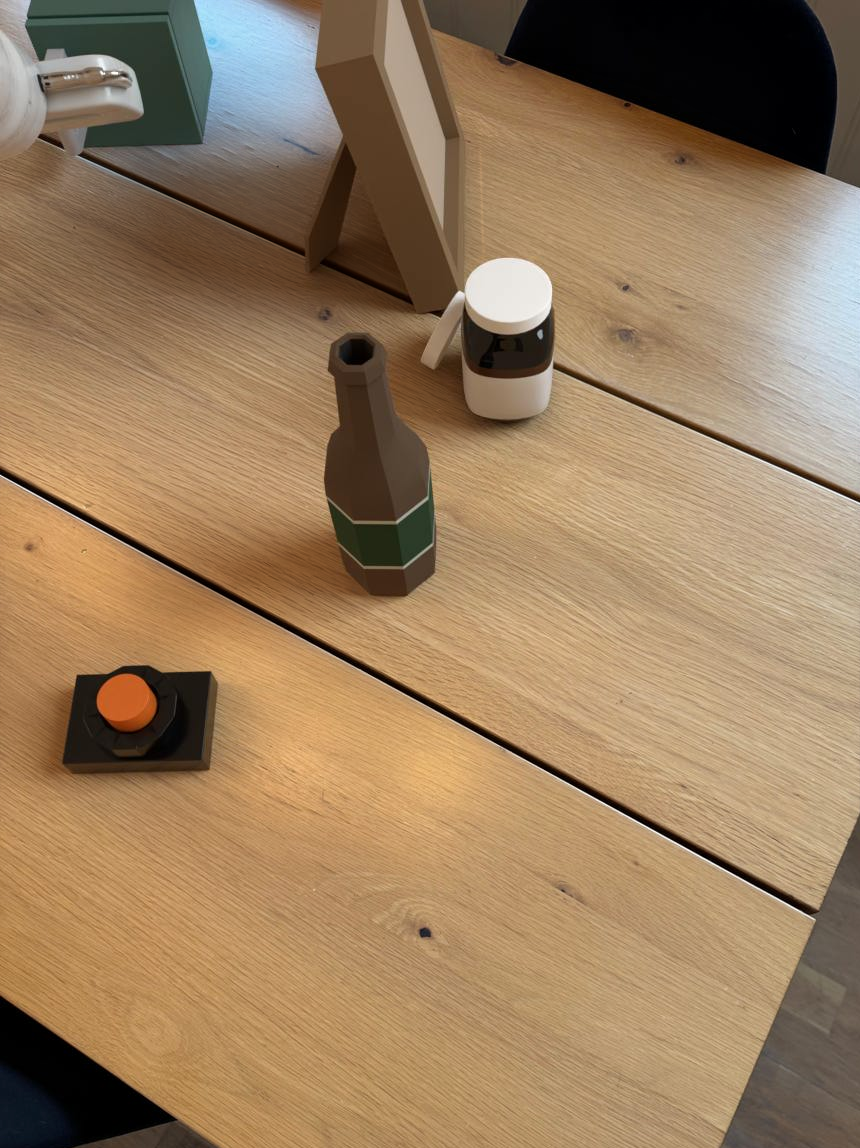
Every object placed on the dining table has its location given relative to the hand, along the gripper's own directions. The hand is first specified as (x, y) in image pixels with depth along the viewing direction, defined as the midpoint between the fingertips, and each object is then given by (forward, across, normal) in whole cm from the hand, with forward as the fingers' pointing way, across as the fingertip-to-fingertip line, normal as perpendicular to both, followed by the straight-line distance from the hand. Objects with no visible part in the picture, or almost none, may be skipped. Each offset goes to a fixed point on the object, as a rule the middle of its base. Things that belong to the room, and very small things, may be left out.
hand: (31, 123), depth 87 cm
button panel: (-25, -3, +45) cm, 52 cm away
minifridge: (+24, -6, -4) cm, 26 cm away
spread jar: (-6, -34, +26) cm, 43 cm away
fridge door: (+18, -5, +1) cm, 19 cm away
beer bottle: (-18, -23, +38) cm, 48 cm away
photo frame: (+8, -28, +12) cm, 32 cm away
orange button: (-28, -3, +43) cm, 51 cm away
